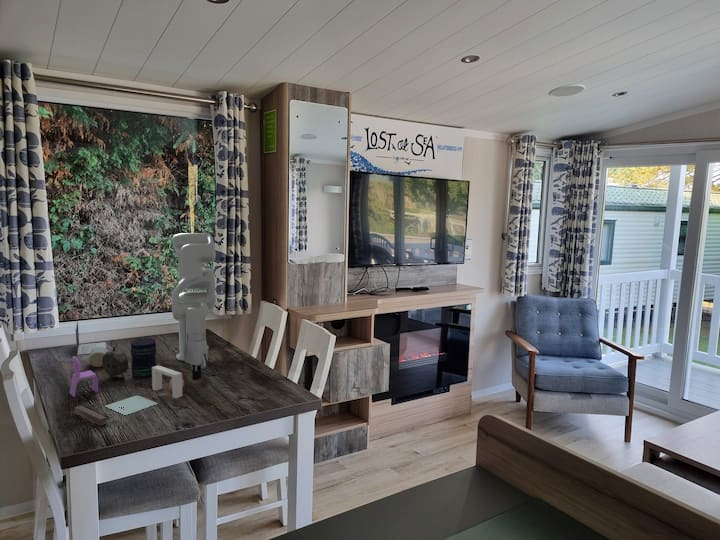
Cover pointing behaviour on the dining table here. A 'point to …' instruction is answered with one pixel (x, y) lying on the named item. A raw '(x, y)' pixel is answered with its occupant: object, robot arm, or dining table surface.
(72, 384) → the toy chair
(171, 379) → the ball
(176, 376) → the bridge
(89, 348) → the laptop
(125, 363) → the alarm clock
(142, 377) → the storage jar
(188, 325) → the robot arm
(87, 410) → the brown wooden bar
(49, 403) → the dining table surface
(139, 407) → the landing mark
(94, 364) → the ceramic mug
